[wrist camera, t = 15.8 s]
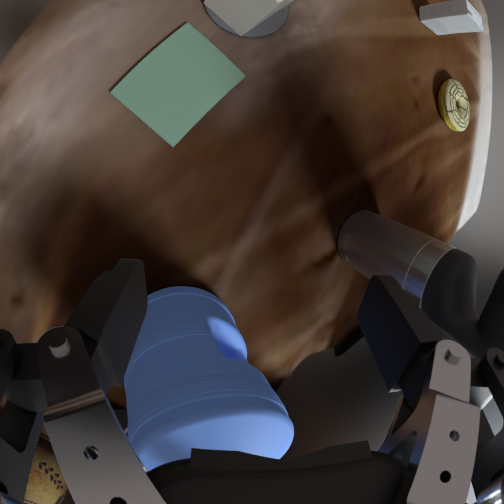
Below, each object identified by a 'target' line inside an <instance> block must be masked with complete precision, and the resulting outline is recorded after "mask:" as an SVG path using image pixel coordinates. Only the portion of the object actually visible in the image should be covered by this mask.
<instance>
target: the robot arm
mask: <svg viewBox="0 0 504 504" xmlns="http://www.w3.org/2000/svg"><path fill="white" fill-rule="evenodd" d="M338 252H339V255H340V257H341V259H342V260H343V261H344V262H345V263H347V264H348V265H350V266H352V267H353V268H355V269H356V270H358V271H359V272H360V273H362V274H363V275H365V276H366V277H368V278H369V279H370V281H369V283H368V286H367V289H366V292H365V295H364V297H363V300H362V303H361V305H360V308H359V312H358V322H359V325H360V328H361V330H362V332H363V334H364V336H365V339H366V341H367V343H368V345H369V347H370V350H371V352H372V354H373V356H374V359H375V361H376V363H377V366H378V368H379V370H380V372H381V375H382V377H383V379H384V382H385V384H386V387H387V389H388V392H395V391H400V390H402V392H403V395H402V396H401V398H400V399H399V402H398V405H397V408H396V410H395V413H394V416H393V419H392V422H391V424H390V427H389V430H388V432H387V435H386V437H385V440H384V442H383V443H382V445H381V446H380V448H379V449H378V451H371V450H370V447H369V443H368V441H367V440H366V441H361V442H355V443H350V444H342V445H336V446H329V447H326V448H324V449H321V450H318V451H315V452H312V453H309V454H306V455H303V456H300V457H297V458H294V459H290V460H280V459H274V458H269V457H264V456H259V455H254V454H249V453H245V452H241V451H229V450H211V449H198V448H191V458H186V459H180V460H176V461H171V462H168V463H165V464H162V465H160V466H158V467H156V468H153V469H152V470H150V471H148V470H147V469H146V467H145V466H144V464H143V463H142V461H141V459H140V458H139V456H138V454H137V453H136V451H135V450H134V448H133V446H132V444H131V443H130V441H129V439H128V437H127V436H126V434H125V432H124V430H123V428H122V426H121V424H120V422H119V420H118V418H117V416H116V414H115V412H114V410H113V408H112V406H111V404H110V402H109V400H108V398H107V396H106V393H107V390H108V387H109V385H112V386H117V387H121V385H122V382H123V379H124V376H125V373H126V370H127V367H128V364H129V361H130V358H131V355H132V352H133V349H134V346H135V343H136V340H137V338H138V335H139V332H140V329H141V327H142V324H143V321H144V318H145V316H146V312H147V306H148V296H147V288H146V280H145V271H144V263H143V261H142V260H141V259H129V258H120V259H119V261H118V262H117V264H116V265H115V267H114V268H113V270H112V271H105V272H104V273H102V274H101V275H100V276H98V277H97V278H95V280H94V281H93V282H92V284H91V285H90V287H89V290H87V291H86V293H85V294H84V296H83V298H82V299H81V300H80V302H79V303H78V305H77V306H76V308H75V310H74V311H73V313H72V314H71V316H70V318H69V319H68V321H67V322H66V324H65V326H61V327H56V328H53V329H50V330H48V331H47V332H45V333H44V334H43V335H42V336H41V337H40V338H39V340H38V342H37V343H22V344H16V342H15V340H14V338H13V336H12V334H11V333H10V332H9V331H7V330H4V329H0V402H1V400H2V398H3V395H5V396H6V397H7V401H6V404H5V406H4V409H3V411H2V413H1V416H0V504H24V498H25V493H26V488H27V483H28V478H29V474H30V470H31V466H32V462H33V458H34V454H35V450H36V447H37V443H38V440H39V436H40V433H41V430H42V427H43V423H44V422H45V425H46V429H47V432H48V435H49V439H50V442H51V445H52V448H53V451H54V454H55V456H56V459H57V462H58V464H59V467H60V470H61V472H62V475H63V477H64V479H65V482H66V484H67V486H68V489H69V491H70V493H71V495H72V497H73V500H74V502H75V504H467V503H466V499H467V495H468V491H469V487H470V482H472V485H473V489H474V492H475V496H476V500H477V502H475V503H474V504H504V423H503V427H502V429H501V431H500V432H499V433H498V434H497V435H496V436H494V434H493V432H492V430H491V427H490V425H489V423H488V420H487V418H486V416H485V414H484V412H483V410H482V409H483V408H484V406H485V405H486V404H487V403H488V402H489V401H490V400H491V399H492V398H494V400H495V402H496V404H497V406H498V408H499V410H500V412H501V414H502V416H503V420H504V268H503V269H502V271H501V273H500V274H499V276H498V278H497V281H496V283H495V285H494V288H493V290H492V293H491V294H490V296H489V298H488V301H487V303H486V305H485V307H484V309H483V311H482V313H481V316H480V318H479V317H478V315H477V311H476V301H475V300H476V297H475V296H476V285H477V265H476V262H475V260H474V258H473V257H472V256H471V255H469V254H467V253H466V252H463V251H461V250H459V249H457V248H455V247H453V246H451V245H449V244H446V243H444V242H442V241H440V240H437V239H435V238H433V237H431V236H428V235H426V234H424V233H422V232H419V231H417V230H415V229H412V228H410V227H408V226H405V225H403V224H401V223H398V222H396V221H393V220H391V219H388V218H386V217H384V216H381V215H379V214H376V213H373V212H371V211H368V210H362V211H358V212H356V213H354V214H353V215H351V216H350V217H349V218H348V219H347V220H346V222H345V223H344V225H343V227H342V229H341V231H340V234H339V237H338ZM430 321H432V322H433V323H434V324H435V325H436V326H437V327H438V328H440V329H441V330H442V331H443V332H445V333H446V334H447V335H449V336H450V337H451V338H452V339H454V340H455V341H456V342H457V343H456V342H454V341H451V340H443V339H442V338H441V336H440V335H439V333H438V332H437V330H436V329H435V327H434V326H433V325H432V323H431V322H430ZM458 343H459V344H458ZM465 349H466V350H467V351H468V352H469V353H470V354H471V355H472V356H474V357H475V358H471V357H470V356H469V354H468V352H467V351H466V350H465Z"/></svg>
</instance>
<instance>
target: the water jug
mask: <svg viewBox="0 0 504 504" xmlns="http://www.w3.org/2000/svg"><path fill="white" fill-rule="evenodd" d="M246 359H247V350H246V345H245V342H244V339H243V337H242V336H241V334H240V332H239V330H238V328H237V326H236V324H235V321H234V319H233V317H232V315H231V313H230V311H229V310H228V308H227V307H226V305H225V304H224V303H223V302H222V301H221V300H220V299H219V298H217V297H216V296H215V295H213V294H211V293H209V292H207V291H205V290H202V289H199V288H195V287H188V286H175V287H168V288H164V289H161V290H158V291H156V292H153V293H151V294H149V295H148V306H147V312H146V316H145V318H144V321H143V324H142V327H141V329H140V332H139V335H138V338H137V340H136V343H135V346H134V349H133V352H132V355H131V358H130V361H129V364H128V367H127V370H126V373H125V376H124V385H125V391H126V401H127V415H128V426H127V428H128V429H127V432H128V439H129V441H130V443H131V444H132V446H133V448H134V450H135V451H136V453H137V454H138V456H139V458H140V459H141V461H142V463H143V464H144V466H145V467H146V469H147V470H148V471H150V470H152V469H153V468H156V467H158V466H160V465H162V464H165V463H168V462H171V461H176V460H180V459H186V458H191V448H198V449H211V450H229V451H241V452H245V453H249V454H254V455H259V456H264V457H269V458H274V459H280V458H281V457H282V456H283V455H284V454H285V452H286V451H287V450H288V448H289V447H290V445H291V442H292V440H293V436H294V427H293V424H292V422H291V420H290V418H289V417H288V414H287V411H286V410H285V407H284V405H283V404H282V402H281V400H280V399H279V397H278V396H277V394H276V393H275V392H274V390H273V389H272V388H271V387H270V385H269V383H268V381H267V380H266V378H265V376H264V375H263V374H262V373H261V372H260V371H259V370H258V369H257V368H255V367H254V366H252V365H250V364H248V362H247V360H246Z"/></svg>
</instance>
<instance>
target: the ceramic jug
mask: <svg viewBox="0 0 504 504" xmlns="http://www.w3.org/2000/svg"><path fill="white" fill-rule="evenodd" d="M66 490H67V484H66V482H65V479H64V477H63V475H62V472H61V470H60V467H59V464H58V462H57V459H56V456H55V454H54V451H53V448H52V445H51V442H50V439H49V438H47V437H46V436H44V435H42V434H41V433H40V436H39V440H38V443H37V447H36V450H35V454H34V458H33V462H32V466H31V470H30V474H29V478H28V483H27V488H26V493H25V498H24V504H60V503H61V502H62V500H63V498H64V496H65V493H66Z"/></svg>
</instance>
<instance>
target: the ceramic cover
mask: <svg viewBox="0 0 504 504" xmlns="http://www.w3.org/2000/svg"><path fill="white" fill-rule="evenodd" d="M292 1H294V0H205V1H204V4H205V5H206V6H207V7H208V8H210V9H211V10H212V11H213V12H214V13H215V14H217V15H218V16H219V17H220V18H221V19H222V20H223V21H225V22H226V23H227V24H228V25H229V26H230V27H231V28H232V29H233V30H234V31H235V32H236V33H238V34H239V35H240V36H242V35H244V34H245V33H247V32H248V31H249V30H251V29H252V28H253V27H255V26H256V25H258V24H259V23H261V22H262V21H264V20H265V19H267V18H268V17H270V16H271V15H273V14H274V13H276V12H277V11H279V10H280V9H282V8H284V7H285V6H287V5H288V4H290V3H291V2H292Z"/></svg>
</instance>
